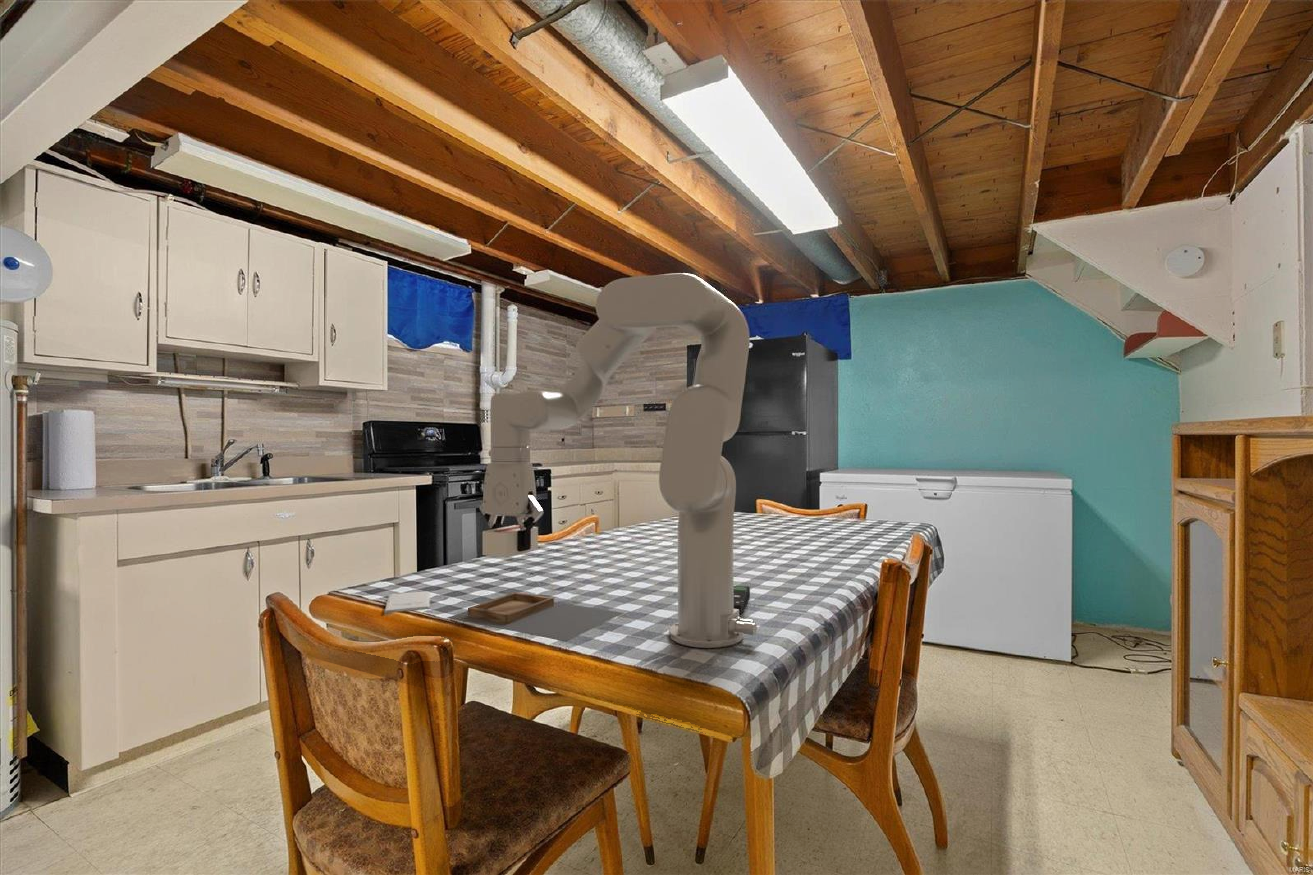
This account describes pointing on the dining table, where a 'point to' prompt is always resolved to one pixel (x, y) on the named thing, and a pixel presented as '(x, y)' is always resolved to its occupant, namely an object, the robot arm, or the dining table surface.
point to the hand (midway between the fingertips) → (510, 547)
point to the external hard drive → (407, 602)
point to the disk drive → (741, 597)
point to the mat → (552, 621)
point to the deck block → (506, 541)
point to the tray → (510, 607)
